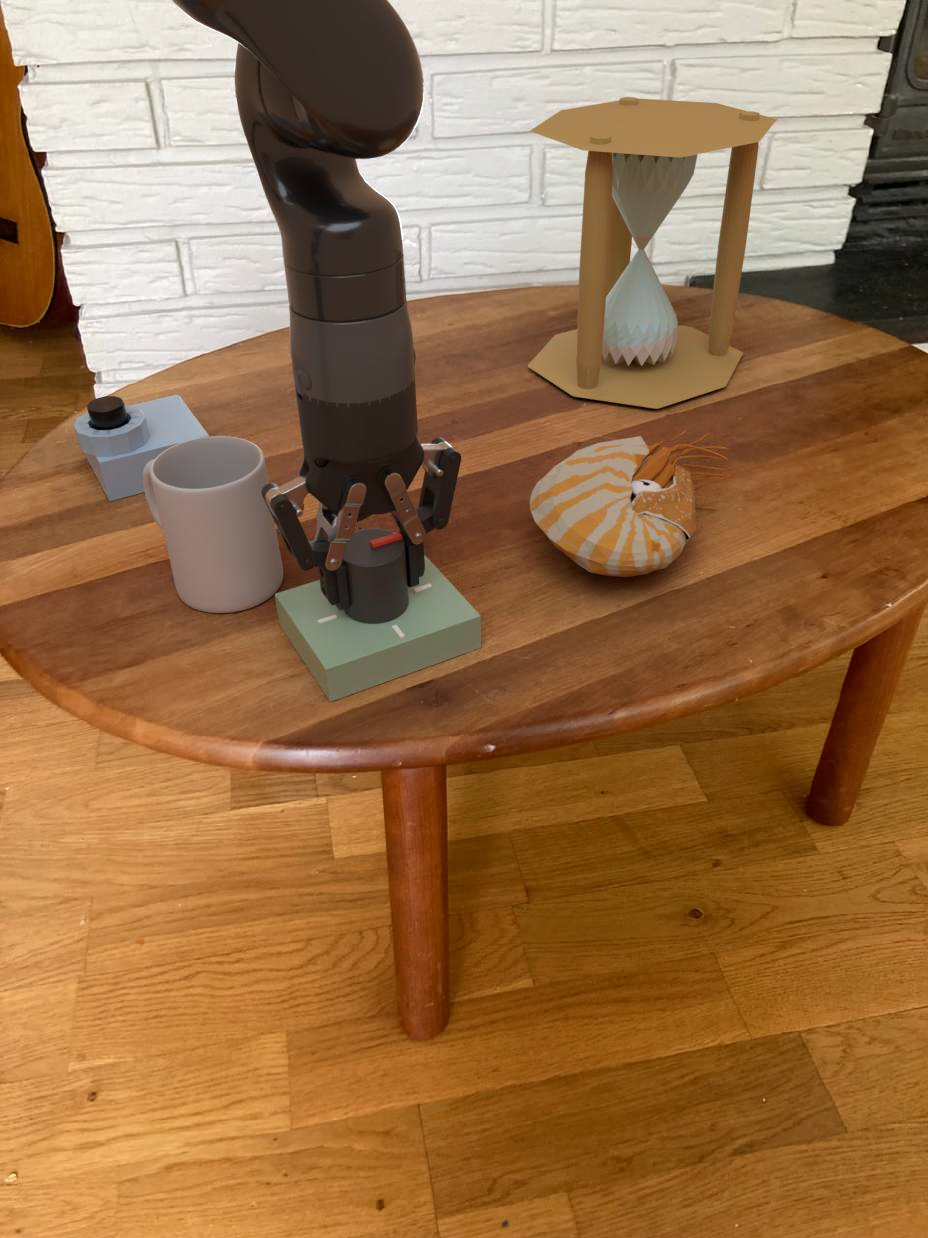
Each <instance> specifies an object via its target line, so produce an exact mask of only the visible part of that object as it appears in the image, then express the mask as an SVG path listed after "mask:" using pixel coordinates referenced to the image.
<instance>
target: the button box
mask: <svg viewBox="0 0 928 1238" xmlns="http://www.w3.org/2000/svg"><path fill="white" fill-rule="evenodd" d="M125 408H126V412H127V416H128V421H129V422H128V424H126V425H124V426H122V427H121V428H117V429H112V430H95V429H93V428H92V425H91V421H90V417H89V413H88V412H85V413H84V414H81V415H80V416H79V417H75V418H74V420H75V422H74V423H73V429H74V433H75V436H76V439H77V444H78V446H79V448H80V450H81V452H82V453H84V455H85V458H86V460H87V461H88V462H87V463H88V464H89V466H90V467H91V469H92V471H93V473H94V475H95V477H96V479H97V481H98V482H99V484H100V486H101V488H102V490H103V492H104V494H105V496H106V498H107V499H108V501H109V502H112V501H116V500H120V499H124V498H128V497H132V496H136V495H139V494H143V493H144V494H145V492H144V485H143V470H144V468H145V466H146V464H147V463H148V462H150V461H151V460H154V459H155V458H156V457H157V456H158V455H159V454H161V453H162V452H163V451H165V450H166V449H168V448H170V447H172V446H174V445H176V444H179V443H182V442H185V441H188V440H192V439H196V438H202V437H210V435H209V433H208V432H207V431H206V429H205V428H204V427H203V426H202V424H201V423H200V422H199V420H198V419H197V418H196V416H195V415H194V414H193V411H191V409H190V408H189V406H188V405H187V404H186V403H185V401H184V400H183V399H182V397H181V396H180V394H174V395H170V396H166V397H159V398H156V399H153V400H148V401H145V402H144V401H143V402H140V403H139V402H138V403H135V404H130V405H129V404H128V405H126V404H125Z"/></svg>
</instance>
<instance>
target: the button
mask: <svg viewBox="0 0 928 1238" xmlns="http://www.w3.org/2000/svg"><path fill="white" fill-rule="evenodd" d="M125 405H126V403H125V401H124V399H123V398H122V397H120V396H115V395H105V396H100V397H96V398H94V399H92V400H91V401H89V402H88V403H87V404H86V410H87V413H89V417H90V421H91V425H92V428H93V429H95V430H112V429H117V428H121V427H122V426H124V425H126V424H128V422H129V421H128V416H127V412H126V408H125Z"/></svg>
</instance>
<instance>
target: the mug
mask: <svg viewBox="0 0 928 1238" xmlns="http://www.w3.org/2000/svg"><path fill="white" fill-rule="evenodd" d="M269 483H270V482H269V476H268V469H267V463H266V457H265V455H264V452H263V451H262V449H261V448H260V447H259V446H258V445H256V444H255V443H254V442H252V441H249V440H247V439H244V438H240V437H236V436H229V435H228V436H227V435H212V436H211V435H210V436H209V437H202V438H196V439H192V440H188V441H185V442H182V443H179V444H176V445H174V446H172V447H170V448H168V449H166V450H165V451H163V452H162V453H161V454H159V455H158V456H157V457H156V458H155V459H154V460H151V461H150V462H148V463H147V464H146V466H145V468H144V470H143V485H144V496H145V500H146V503H147V506H148V509H149V512H150V514H151V516H152V518H153V520H154V522H155V523H156V525H157V526H158V527H159V528H160V529H161V530H162V532H163V536H164V541H165V546H166V549H167V555H168V558H169V563H170V567H171V568H170V569H171V574H172V577H173V583H174V586H175V589H176V594H177V595H178V597H179V598H180V600H181V601H182V602H183V603H184V605H186V606H189V607H190V608H191V609H194V610H197V611H199V612H204V613H207V614H208V613H209V614H231V613H238V612H242V611H246V610H249V609H251V608H254V607H256V606H259V605H261V604H263V603H265V602H266V601H268V600H269V599H270V598H272V597H273V596H275V594H276V593H277V592H278V590H279V588H280V587H281V586H282V583H283V581H284V566H283V561H282V555H281V550H280V545H279V540H278V532H277V526H276V524H275V522H274V520H273V518H272V515H271V513H270V511H269V509H268V507H267V505H266V503H265V501H264V498H263V496H262V489H263V487H264V486H265V485H267V484H269Z"/></svg>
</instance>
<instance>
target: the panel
mask: <svg viewBox="0 0 928 1238" xmlns="http://www.w3.org/2000/svg"><path fill="white" fill-rule="evenodd" d="M424 557H425V558H424V559H425V562H424V563H425V571H424V574H423V576H421V577H419V585H417V586H413V587H410V588H409V587H408V598H409V603H408V607H407V609H406V610H405V611H404V613H403V614H401V615H400V616H399V617H397V618H395V619H393V620H390V621H387V622H383V623H363V622H359V621H356V620H354V619H352V618H350V617H349V616H348V615H347V614H346V613H345V611H344V610H341V611H340V610H339V609H338V608H337V607H336V605H331V604H330V602H329V601H328V600H327V598H326V597H325V596H324V594H323V593H322V591H321V587H320V579H318V580H314V581H312V582H308V583H305V584H301V585H299V586H295V587H292V588H289V589H285V590H283V591H279V592H276V593H275V594H274V599H275V605H276V606H275V607H276V612H277V619H278V623H279V626H280V628H281V629H282V631H283V633H284V634H285V636H286V637H287V639H288V641H289V642H290V643H291V646H292V647H293V648H294V650H295V651H296V652H297V654H298V656H299V657H300V659H301V661H302V662H303V663H304V665H305V666H306V668H307V669H308V671H309V672H310V673H311V675H312V677H313V678H314V680H315V682H316V684H318V687H320V689H321V690H322V692H323V693H324V695H325V696H326V698H327V700H328V701H329V703H332V702H334V701H337V700H340V699H343V698H346V697H348V696H351V695H353V694H357V693H359V692H362V691H366V690H367V689H371V688H373V687H376V686H379V685H382V684H385V683H388V682H390V681H393V680H396V679H398V678H402V677H404V676H406V675H410V674H412V673H415V672H417V671H420V670H423V669H426V668H429V667H431V666H435V665H437V664H440V663H443V662H445V661H448V660H451V659H454V658H457V657H460V656H462V655H465V654H468V653H470V652H473V651H476V650H479V649H481V648H482V616H481V614H480V613H479V612H478V611H477V610H476V608H474V606H473V605H471V603H470V602H469V601H468V600H467V599H466V598H465V597H464V596H463V595H462V594H461V592H460V591H459V590H458V589H457V588H456V587H455V586H454V585H453V583H451V582H450V580H449V579H448V578H447V577H446V576H445V575H444V574H443V573H442V572H441V570H439V568H438V567H436V565H435V564H434V563H433V562H432V561H431V560H430V559H429V558H428V557H427V555H426V554H424Z"/></svg>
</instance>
